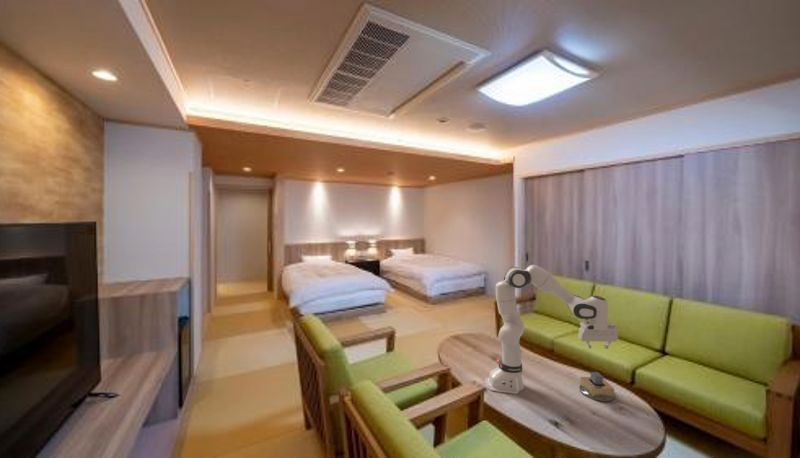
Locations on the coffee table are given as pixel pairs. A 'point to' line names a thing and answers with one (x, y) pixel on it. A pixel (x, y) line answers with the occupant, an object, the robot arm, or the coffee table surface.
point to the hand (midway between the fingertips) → (597, 348)
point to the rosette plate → (596, 390)
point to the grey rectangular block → (596, 379)
